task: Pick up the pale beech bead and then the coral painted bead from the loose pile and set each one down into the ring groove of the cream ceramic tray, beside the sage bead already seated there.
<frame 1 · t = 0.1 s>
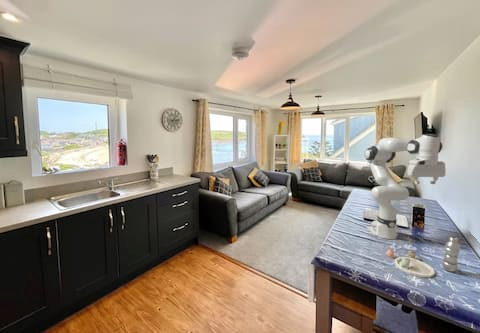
hand: (424, 184, 135), 48 cm above the table, fingers open, 8 cm apart
bead a: (411, 259, 139), on the table
bead c: (405, 267, 129), point 1 cm above the table, touching tray
silver metal bottle: (449, 270, 128), on the table
bead b: (390, 258, 141), on the table
tray: (413, 269, 129), on the table
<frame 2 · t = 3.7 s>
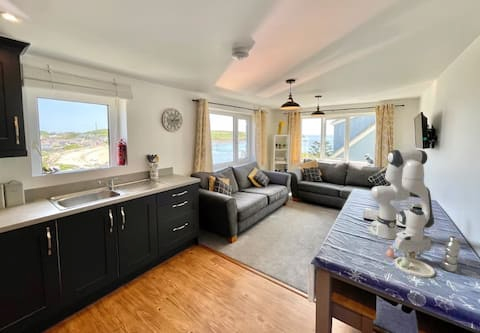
hand: (411, 256, 138), 2 cm above the table, fingers open, 7 cm apart
nothing on the table moved.
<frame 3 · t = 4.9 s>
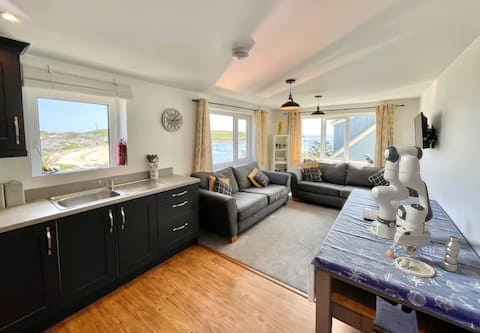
hand: (410, 250, 139), 5 cm above the table, fingers closed on bead a, 3 cm apart
bead a: (409, 253, 140), point 3 cm above the table, touching gripper
everything else where it was.
when the fingers open (3 cm above the table, at t = 17.5 s): bead a stays where it is, resting on tray.
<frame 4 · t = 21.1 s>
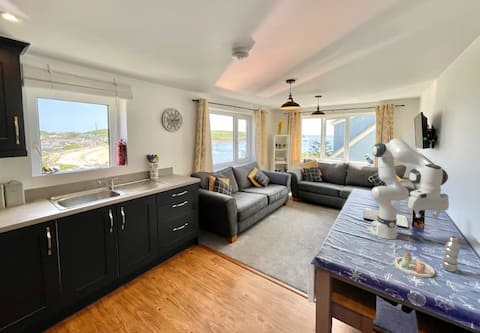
hand: (426, 217, 126), 31 cm above the table, fingers open, 8 cm apart
bead a: (407, 262, 134), point 1 cm above the table, touching tray
bead b: (420, 272, 124), point 1 cm above the table, touching tray
everything else where it was.
at the end: bead a 0.4 cm from the target spot on the tray, point 1.0 cm above the tray's base; bead b 0.1 cm from the target spot on the tray, point 1.0 cm above the tray's base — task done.
